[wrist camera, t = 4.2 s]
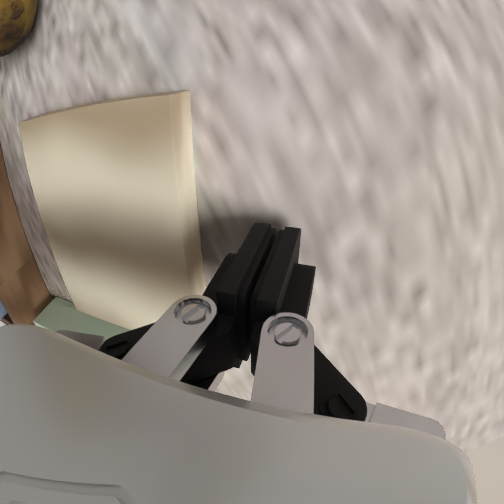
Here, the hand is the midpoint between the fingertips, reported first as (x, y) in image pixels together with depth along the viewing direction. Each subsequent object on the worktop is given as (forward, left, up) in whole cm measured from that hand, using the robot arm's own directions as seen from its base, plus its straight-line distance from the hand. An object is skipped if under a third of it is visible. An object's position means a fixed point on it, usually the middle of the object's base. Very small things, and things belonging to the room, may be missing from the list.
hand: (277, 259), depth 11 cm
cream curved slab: (0, -8, -1) cm, 8 cm away
